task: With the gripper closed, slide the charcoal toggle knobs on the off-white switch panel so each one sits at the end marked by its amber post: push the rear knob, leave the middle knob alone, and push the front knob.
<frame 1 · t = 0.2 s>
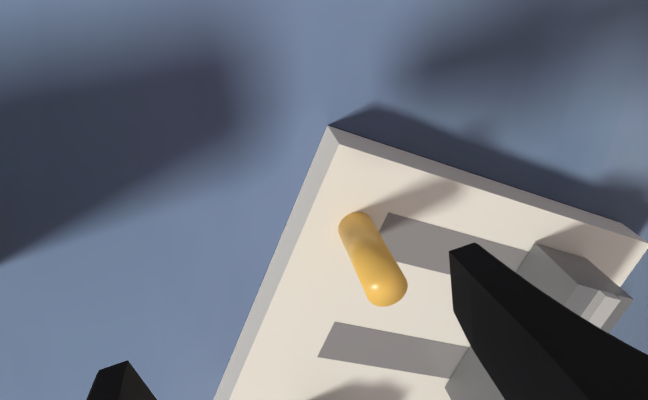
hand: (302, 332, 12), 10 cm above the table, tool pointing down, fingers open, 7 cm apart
switch panel: (408, 328, 26), on the table
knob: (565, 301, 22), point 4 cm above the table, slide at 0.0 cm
middle knob: (501, 396, 24), point 4 cm above the table, slide at 0.0 cm
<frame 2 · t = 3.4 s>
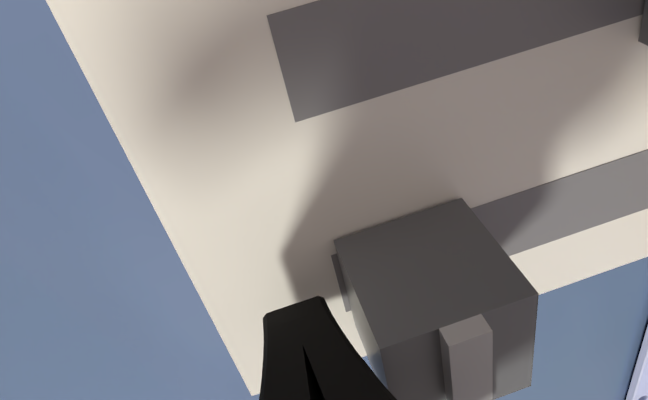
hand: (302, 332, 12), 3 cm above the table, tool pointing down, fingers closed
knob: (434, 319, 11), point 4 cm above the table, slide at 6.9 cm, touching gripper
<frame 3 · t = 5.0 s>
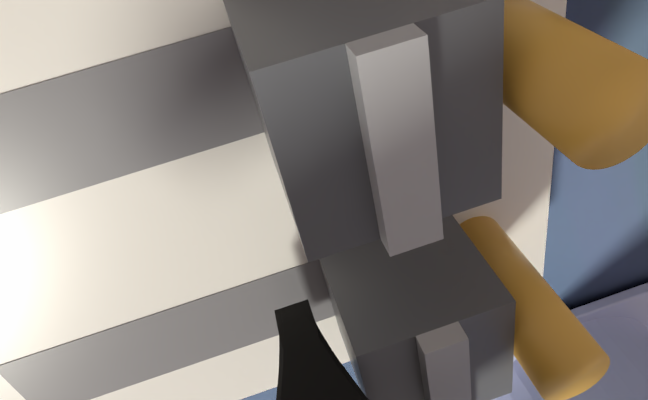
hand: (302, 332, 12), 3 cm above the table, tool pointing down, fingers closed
switch panel: (137, 71, 11), on the table
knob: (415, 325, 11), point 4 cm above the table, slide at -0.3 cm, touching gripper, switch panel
middle knob: (363, 101, 8), point 4 cm above the table, slide at 0.0 cm
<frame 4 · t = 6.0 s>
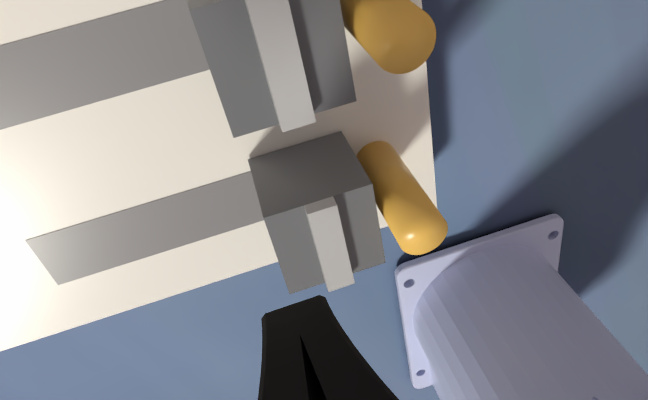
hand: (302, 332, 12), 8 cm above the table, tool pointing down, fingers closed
switch panel: (129, 28, 15), on the table
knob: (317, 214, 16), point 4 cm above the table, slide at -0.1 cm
middle knob: (270, 39, 12), point 4 cm above the table, slide at 0.0 cm
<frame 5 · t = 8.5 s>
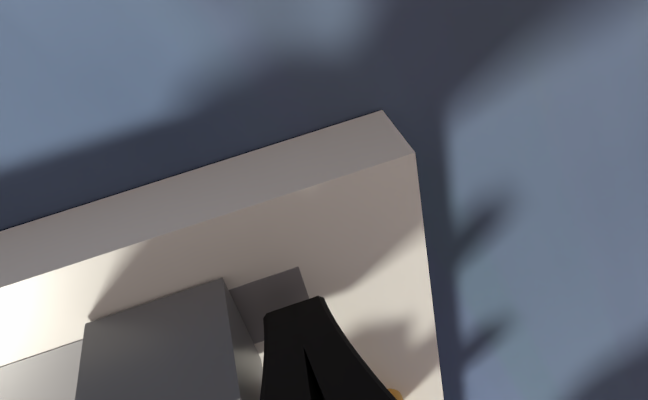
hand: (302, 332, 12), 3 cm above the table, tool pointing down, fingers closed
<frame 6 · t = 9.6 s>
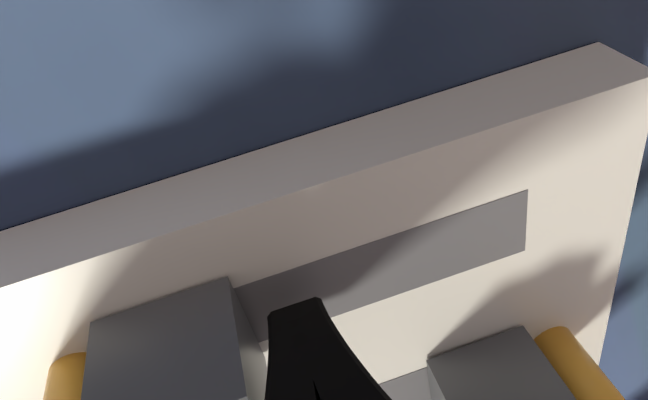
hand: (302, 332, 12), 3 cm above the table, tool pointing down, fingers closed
switch panel: (347, 355, 18), on the table
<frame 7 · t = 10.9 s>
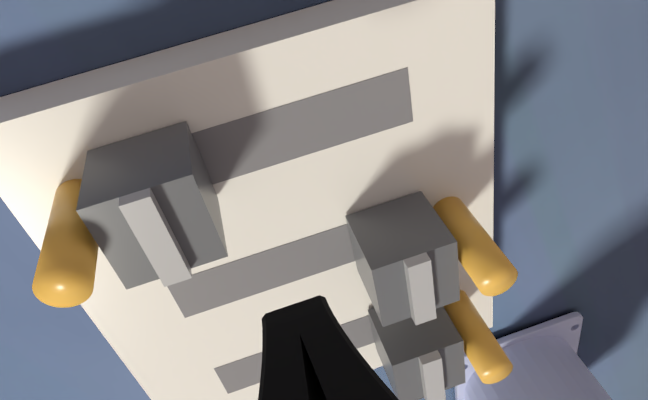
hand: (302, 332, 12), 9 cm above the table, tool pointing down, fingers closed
switch panel: (291, 227, 22), on the table
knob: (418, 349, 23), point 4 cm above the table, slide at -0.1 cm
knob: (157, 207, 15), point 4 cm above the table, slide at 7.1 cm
middle knob: (404, 261, 19), point 4 cm above the table, slide at 0.0 cm
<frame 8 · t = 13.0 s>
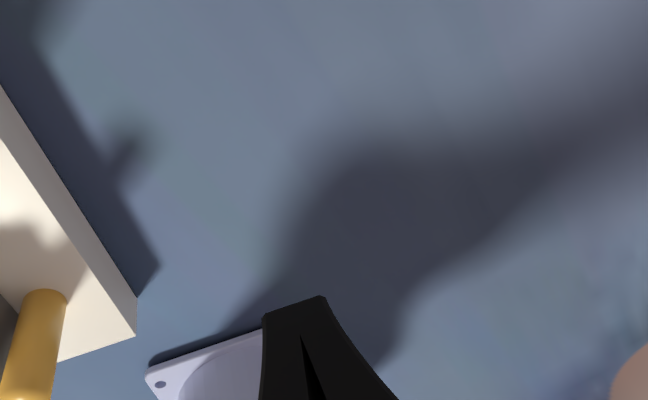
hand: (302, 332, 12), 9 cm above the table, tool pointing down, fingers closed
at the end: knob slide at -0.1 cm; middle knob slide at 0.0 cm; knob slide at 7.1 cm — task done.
